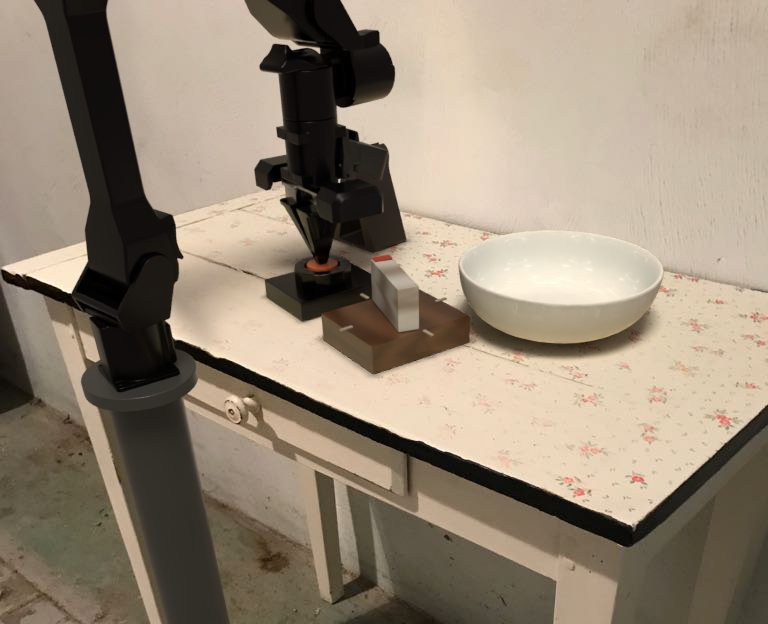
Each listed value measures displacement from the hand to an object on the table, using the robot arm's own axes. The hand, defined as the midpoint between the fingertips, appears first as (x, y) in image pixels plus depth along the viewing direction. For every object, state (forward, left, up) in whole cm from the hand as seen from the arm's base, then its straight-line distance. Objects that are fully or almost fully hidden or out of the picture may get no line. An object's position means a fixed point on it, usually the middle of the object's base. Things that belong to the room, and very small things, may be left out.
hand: (322, 263), depth 95 cm
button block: (0, 0, -4) cm, 4 cm away
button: (0, 0, -2) cm, 2 cm away
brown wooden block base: (0, -15, -4) cm, 16 cm away
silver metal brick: (0, -15, -1) cm, 15 cm away
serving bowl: (+16, -22, -4) cm, 28 cm away
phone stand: (+15, +14, -4) cm, 21 cm away
